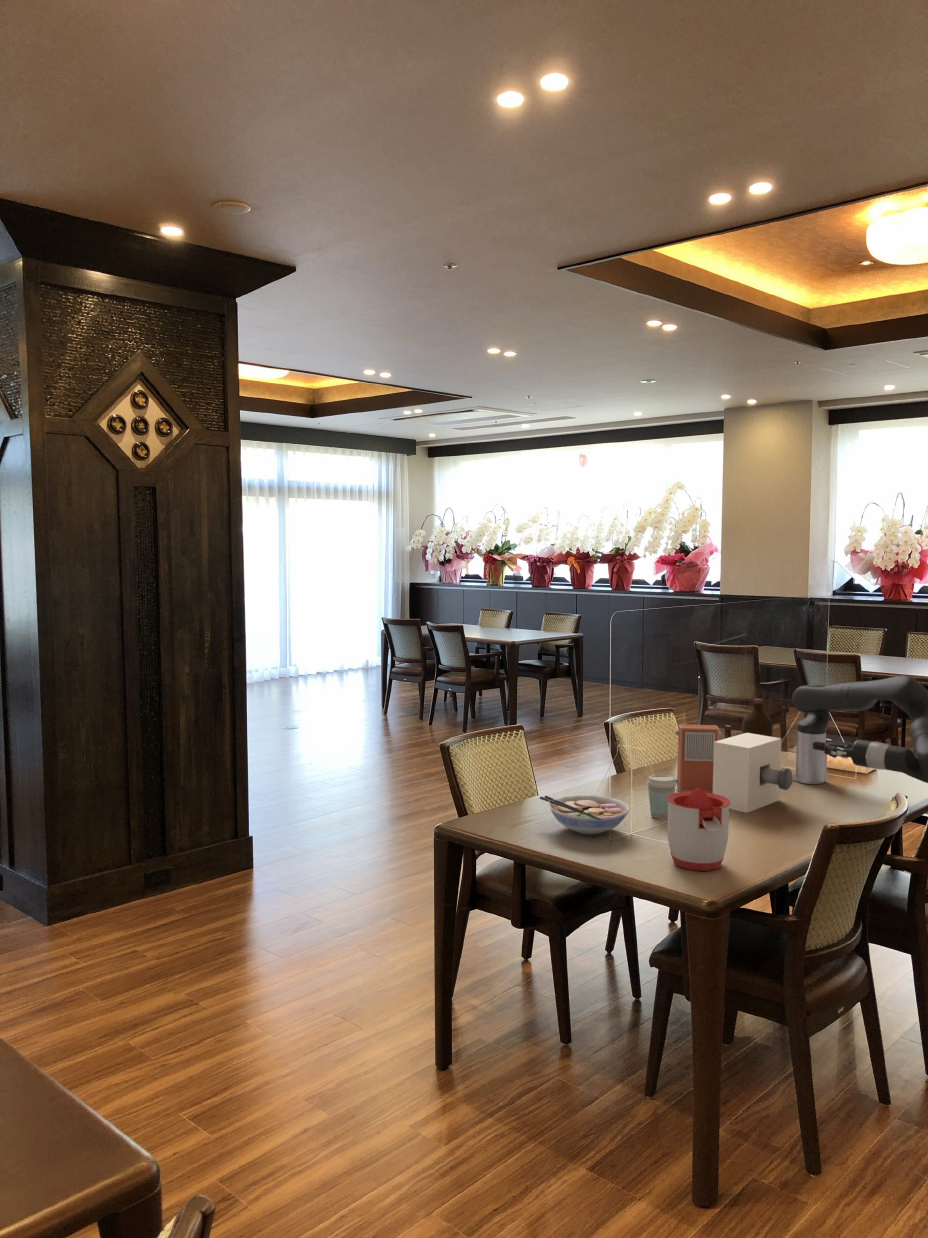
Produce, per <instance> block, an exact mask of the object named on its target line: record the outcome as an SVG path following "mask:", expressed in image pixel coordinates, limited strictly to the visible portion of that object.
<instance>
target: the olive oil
mask: <svg viewBox="0 0 928 1238" xmlns="http://www.w3.org/2000/svg"><path fill="white" fill-rule="evenodd" d="M763 702H764V699H763V698H753V703H752V704H753V706H752V708H753V709H752V710H751V711H750V712H749V713H748V714H747V715H746V716H744V718H743V721H742V726H741V728H742V730H741V731H742V733H741V734H744V733H752V734H758V735H764V736H769V737H773V729H774V725H773V721H772V719H771V717H770V716H769V715H768V714H767V713H766V712H765V710H764V709H763V708H764V703H763Z"/></svg>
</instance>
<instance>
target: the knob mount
mask: <svg viewBox="0 0 928 1238" xmlns="http://www.w3.org/2000/svg"><path fill="white" fill-rule="evenodd" d="M781 755H782V738H781V737H774V736H772V737H769V736H764V735H758V734H752V733H744V734H742V733H741V734H737V735H733V736H730V737H727V738H722V739H719V741H715V742H714V763H713V794H717V795H721V796H723V797H726V798H727V799H729V801H730V805H729V810H733V811H736V812H737V811H738V812H741V813H744V814H745V813H746V814H748V813H751V812H753V811H755V810H759V809H761V808H763V807H766V806H768V805H771V804H774V803H776V802H779V801H780V790H781V789H780V788H779V786H778V785H776V784H771V783H766V782H761V781H760V767H764V768H769V769H774V770H779V771H781V763H782V761H781V758H782V757H781Z"/></svg>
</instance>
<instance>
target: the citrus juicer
mask: <svg viewBox="0 0 928 1238" xmlns="http://www.w3.org/2000/svg"><path fill="white" fill-rule="evenodd" d="M667 800H668V819H667V842H668V847H669V850H670V855H671V858H672V861H673V863H674V864H675V865H677V866H678V867H681V868H683V869H686V870H688V871H712V870H711V869H713V870H716V869H715V868H717V869H718V868H719V867H720V866H721V864H722V863H723V860H724V857H725V854H726V850H727V845H728V839H729V823H730V822H729V819H730V809H729V805H730V801H729V799H727V798H726V797H723V796H721V795H717V794H713V793H712V792H704V791H703V790H702V789H701V788H696V789H695V790H694V791H685V792H680V791H677V792H674V793H673V794H670V795H669V796H668V797H667Z"/></svg>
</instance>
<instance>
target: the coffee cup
mask: <svg viewBox="0 0 928 1238" xmlns="http://www.w3.org/2000/svg"><path fill="white" fill-rule="evenodd" d="M675 779H676V778H675V777H674V776H671V775H668V774H652V775H649V776H648V779H647V781H646V784H647V788H648V798H649V809H650V817H651V816H652V817H654V818H657V819H656V820H658V819H667V820H668V800H667V797H668V796H669V795H670V794H673V793H675V789H676V787H677V784H676V782H675ZM652 817H651V818H652ZM654 818H653V819H654Z"/></svg>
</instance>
